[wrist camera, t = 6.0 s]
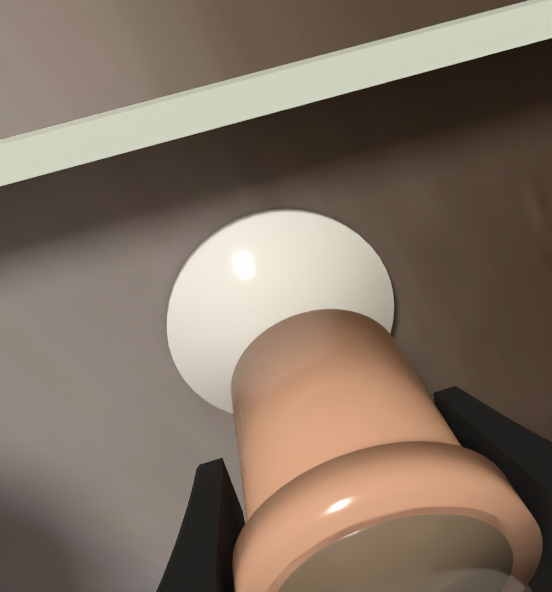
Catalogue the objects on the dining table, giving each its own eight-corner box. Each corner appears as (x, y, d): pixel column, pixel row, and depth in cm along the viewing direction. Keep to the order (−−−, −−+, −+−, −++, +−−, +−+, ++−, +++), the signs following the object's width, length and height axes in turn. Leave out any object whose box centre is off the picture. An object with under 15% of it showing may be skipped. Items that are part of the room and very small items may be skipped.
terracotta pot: (420, 424, 16) (534, 626, 11) (245, 474, 16) (276, 703, 11) (406, 270, 13) (558, 450, 8) (188, 330, 13) (194, 556, 8)
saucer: (398, 373, 22) (405, 384, 22) (205, 432, 22) (206, 444, 21) (370, 179, 18) (378, 184, 18) (133, 246, 18) (131, 253, 17)
